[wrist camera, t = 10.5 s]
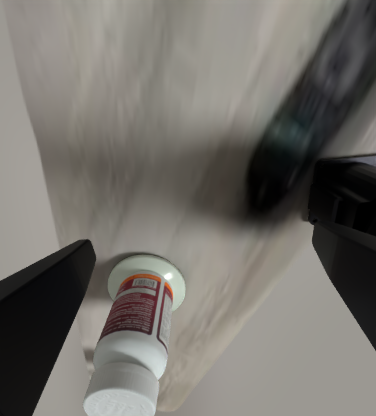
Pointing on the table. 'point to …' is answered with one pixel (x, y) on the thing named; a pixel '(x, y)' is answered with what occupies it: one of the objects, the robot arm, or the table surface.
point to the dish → (152, 265)
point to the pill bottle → (132, 349)
